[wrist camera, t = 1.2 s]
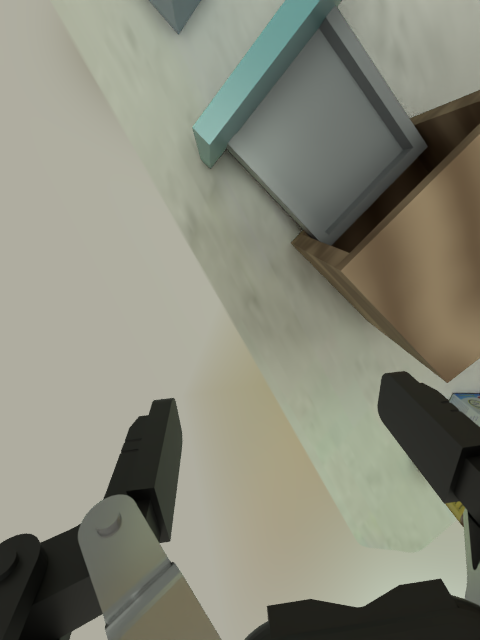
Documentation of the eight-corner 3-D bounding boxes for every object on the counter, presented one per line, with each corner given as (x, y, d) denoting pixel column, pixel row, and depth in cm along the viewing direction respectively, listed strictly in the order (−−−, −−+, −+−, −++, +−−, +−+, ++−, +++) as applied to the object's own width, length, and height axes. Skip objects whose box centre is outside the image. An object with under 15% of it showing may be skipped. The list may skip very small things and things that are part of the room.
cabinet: (404, 120, 28) (555, 59, 16) (474, 225, 33) (630, 241, 21) (290, 243, 32) (340, 270, 20) (368, 321, 37) (447, 383, 25)
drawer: (330, -14, 23) (461, -248, 11) (424, 132, 28) (587, 82, 16) (199, 158, 27) (190, 125, 15) (301, 260, 32) (357, 297, 20)
